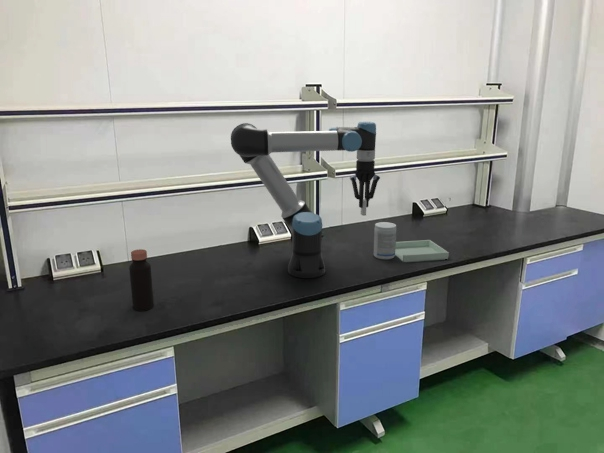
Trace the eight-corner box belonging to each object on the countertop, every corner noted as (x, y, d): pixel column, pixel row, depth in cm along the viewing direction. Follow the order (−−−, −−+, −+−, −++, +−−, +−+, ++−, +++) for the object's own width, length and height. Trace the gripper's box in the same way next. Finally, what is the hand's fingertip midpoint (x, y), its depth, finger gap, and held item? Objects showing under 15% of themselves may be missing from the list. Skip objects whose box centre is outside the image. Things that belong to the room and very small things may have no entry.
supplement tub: (399, 257, 217) (401, 225, 213) (383, 261, 212) (385, 229, 208) (384, 251, 225) (386, 220, 221) (368, 255, 220) (370, 223, 216)
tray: (403, 262, 211) (404, 255, 210) (387, 248, 228) (388, 242, 227) (448, 259, 216) (448, 252, 215) (429, 246, 233) (429, 239, 232)
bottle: (151, 311, 164) (147, 255, 159) (130, 311, 164) (125, 255, 158) (155, 302, 171) (151, 248, 165) (135, 302, 170) (130, 248, 164)
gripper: (353, 161, 199) (351, 217, 206) (383, 160, 202) (380, 216, 208) (347, 159, 206) (346, 213, 213) (377, 158, 209) (374, 211, 215)
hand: (363, 214), depth 211 cm, fingers closed
